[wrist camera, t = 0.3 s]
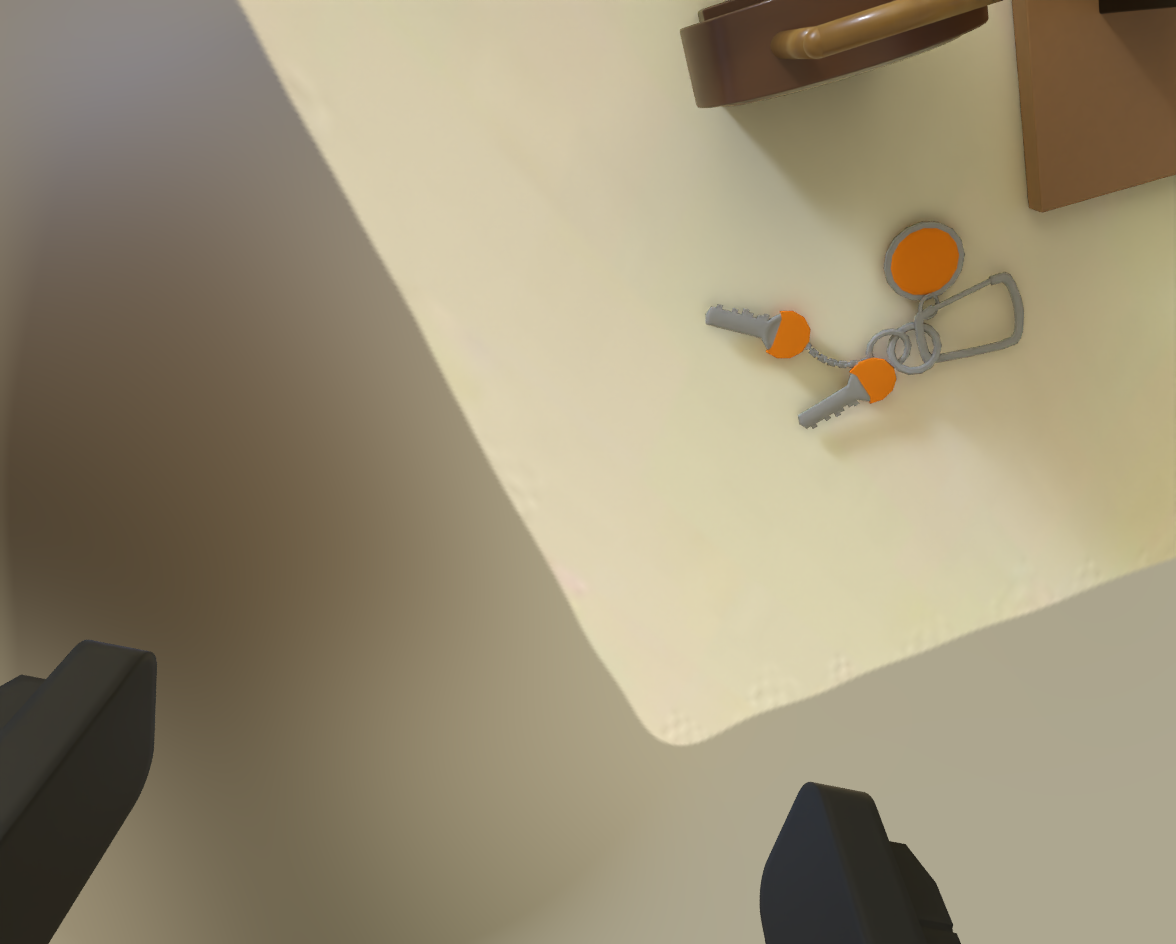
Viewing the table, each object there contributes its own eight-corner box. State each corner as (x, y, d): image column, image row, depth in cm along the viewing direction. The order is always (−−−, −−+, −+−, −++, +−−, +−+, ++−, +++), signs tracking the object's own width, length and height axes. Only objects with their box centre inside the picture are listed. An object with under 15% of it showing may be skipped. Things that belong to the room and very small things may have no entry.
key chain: (1002, 193, 35) (1011, 195, 34) (1027, 357, 38) (1036, 363, 37) (697, 298, 37) (699, 304, 36) (744, 447, 40) (747, 455, 39)
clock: (663, 22, 33) (707, -2, 20) (904, -58, 32) (1122, -140, 19) (683, 110, 34) (738, 143, 21) (915, 37, 33) (1127, 23, 20)
